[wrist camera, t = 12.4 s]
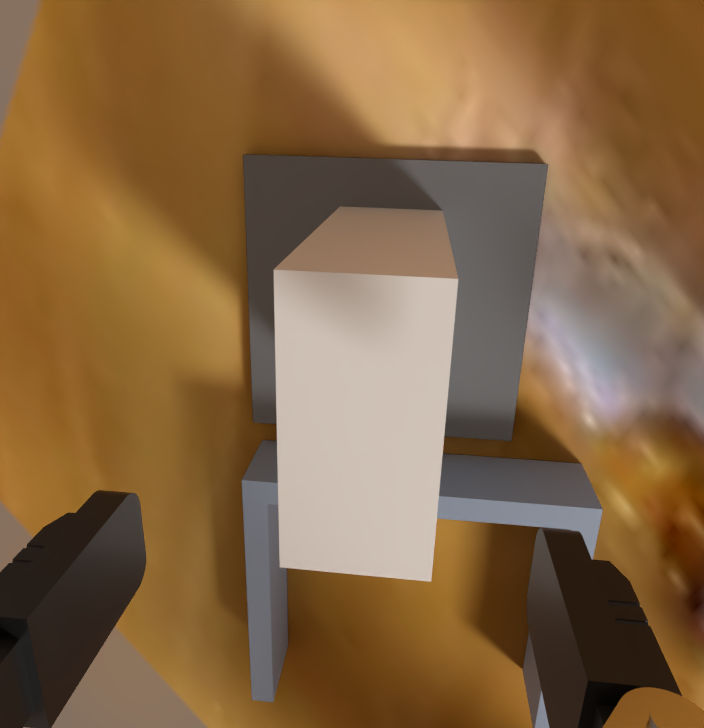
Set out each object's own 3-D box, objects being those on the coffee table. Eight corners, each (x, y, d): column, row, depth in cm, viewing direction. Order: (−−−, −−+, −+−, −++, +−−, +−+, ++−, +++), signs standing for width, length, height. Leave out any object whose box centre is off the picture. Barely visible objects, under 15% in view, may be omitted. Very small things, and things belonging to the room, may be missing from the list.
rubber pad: (509, 435, 31) (511, 441, 30) (256, 417, 32) (253, 422, 32) (545, 163, 26) (548, 164, 26) (246, 154, 27) (243, 154, 27)
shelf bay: (543, 672, 36) (557, 734, 32) (268, 643, 38) (251, 699, 34) (581, 463, 31) (603, 509, 27) (262, 439, 33) (241, 480, 29)
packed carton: (442, 210, 27) (458, 278, 15) (428, 399, 30) (431, 581, 18) (339, 206, 27) (273, 269, 15) (336, 392, 30) (279, 567, 18)
